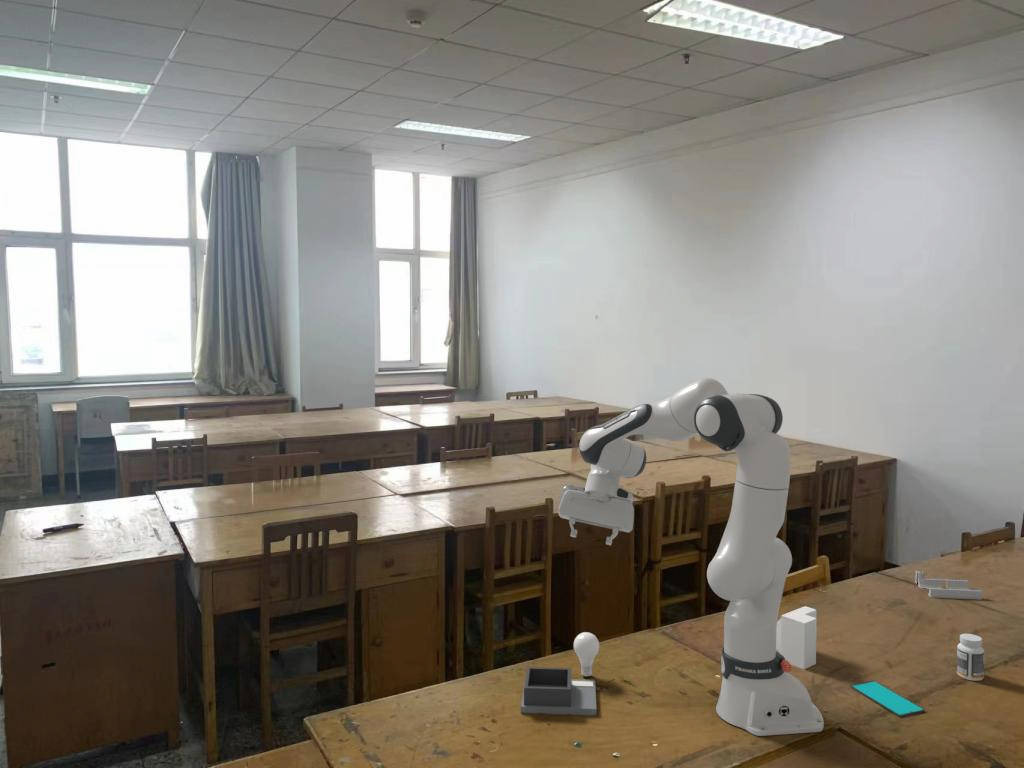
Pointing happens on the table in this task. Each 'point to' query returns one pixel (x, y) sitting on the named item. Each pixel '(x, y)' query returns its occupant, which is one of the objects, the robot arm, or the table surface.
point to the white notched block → (798, 637)
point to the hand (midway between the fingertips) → (590, 540)
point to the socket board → (557, 692)
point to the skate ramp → (954, 588)
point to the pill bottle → (970, 657)
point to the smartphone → (887, 699)
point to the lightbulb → (586, 651)
